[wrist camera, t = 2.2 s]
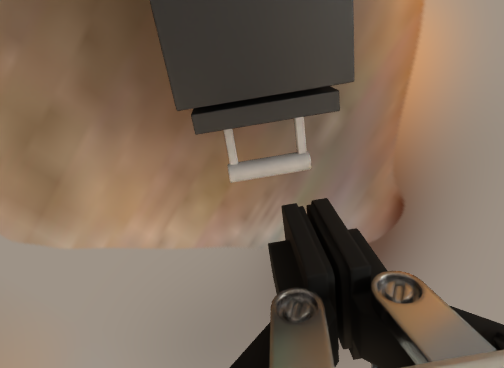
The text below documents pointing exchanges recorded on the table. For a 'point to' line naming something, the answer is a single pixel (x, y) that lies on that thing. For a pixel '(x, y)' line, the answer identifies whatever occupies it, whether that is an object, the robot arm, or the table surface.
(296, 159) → the drawer
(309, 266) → the robot arm
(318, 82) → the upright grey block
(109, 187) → the table surface
